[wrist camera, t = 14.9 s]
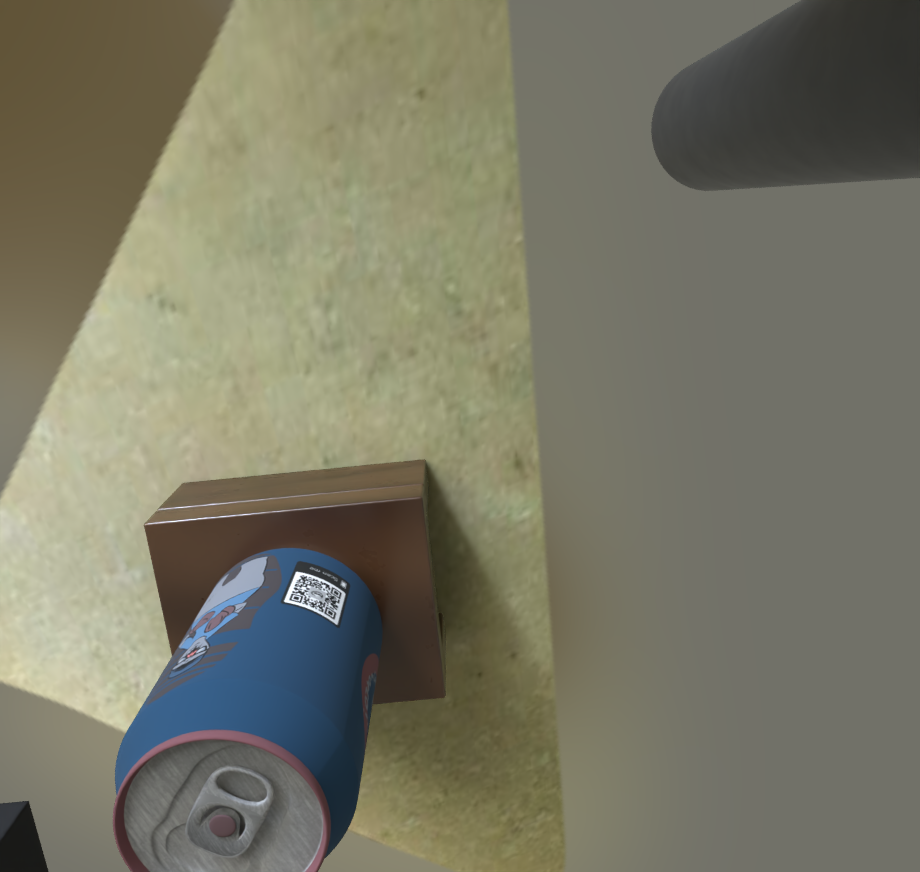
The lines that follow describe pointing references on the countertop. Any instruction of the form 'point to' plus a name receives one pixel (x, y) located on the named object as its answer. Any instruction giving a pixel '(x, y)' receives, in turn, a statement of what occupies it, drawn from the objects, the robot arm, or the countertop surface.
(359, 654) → the soda can
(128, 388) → the countertop surface
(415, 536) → the walnut wood chunk
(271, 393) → the countertop surface
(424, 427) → the countertop surface
